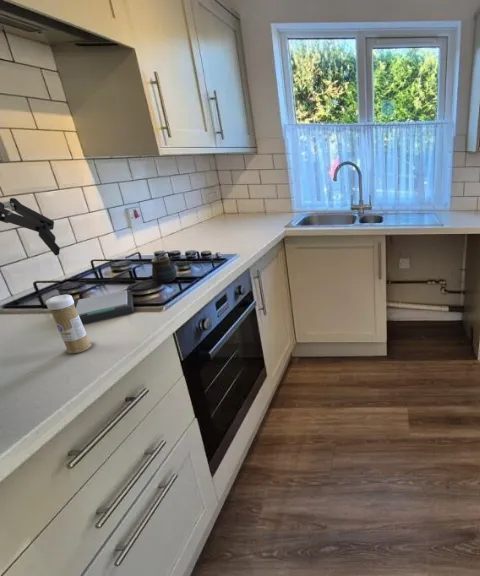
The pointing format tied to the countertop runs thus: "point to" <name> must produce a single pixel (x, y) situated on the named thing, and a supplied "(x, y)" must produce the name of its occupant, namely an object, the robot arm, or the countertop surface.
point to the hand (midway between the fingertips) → (22, 260)
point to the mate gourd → (163, 270)
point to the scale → (104, 306)
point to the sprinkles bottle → (68, 323)
